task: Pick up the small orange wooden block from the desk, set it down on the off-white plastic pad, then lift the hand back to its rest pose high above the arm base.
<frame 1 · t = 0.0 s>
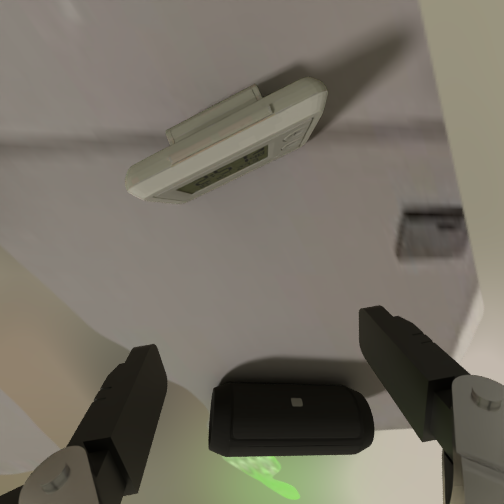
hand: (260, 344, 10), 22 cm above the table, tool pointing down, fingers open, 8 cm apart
portable speaker: (282, 388, 47), on the table
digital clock: (229, 149, 28), on the table
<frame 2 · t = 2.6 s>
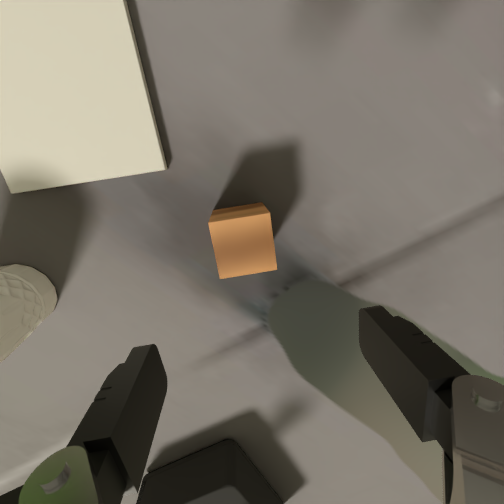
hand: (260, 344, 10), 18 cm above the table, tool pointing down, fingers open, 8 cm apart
orange block: (241, 229, 27), on the table
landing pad: (65, 97, 22), on the table
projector: (214, 488, 41), on the table
white cup: (25, 291, 28), on the table
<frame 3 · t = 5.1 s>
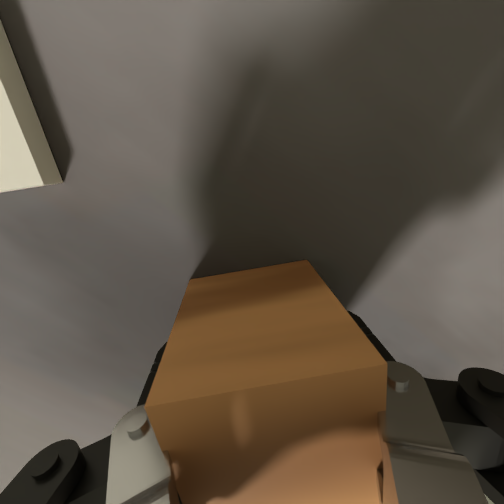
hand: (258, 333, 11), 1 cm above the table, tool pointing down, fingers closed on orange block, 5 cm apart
orange block: (257, 319, 12), on the table, touching gripper
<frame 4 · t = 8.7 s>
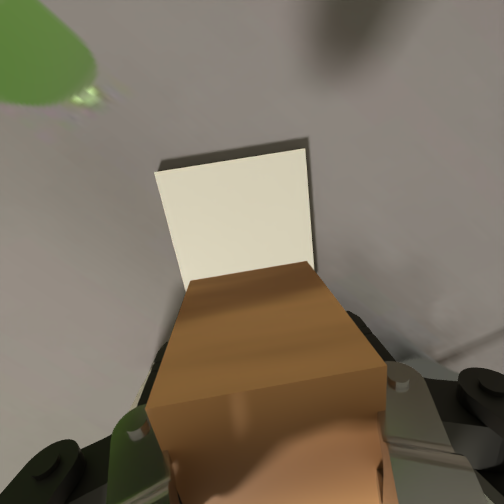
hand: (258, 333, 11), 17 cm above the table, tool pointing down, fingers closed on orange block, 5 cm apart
orange block: (257, 320, 12), point 16 cm above the table, touching gripper
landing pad: (242, 230, 27), on the table
when the fingers open (3 cm above the table, at t = 12.1 s): orange block stays where it is, resting on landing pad.
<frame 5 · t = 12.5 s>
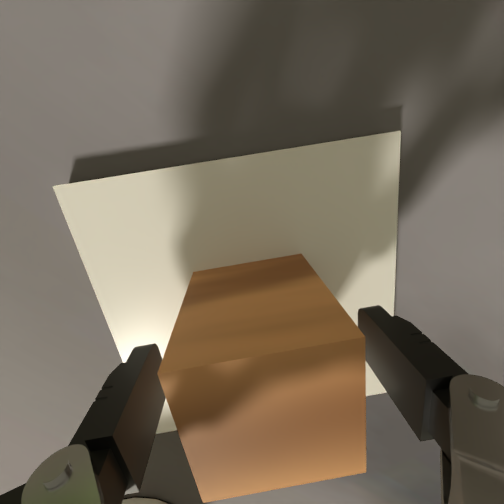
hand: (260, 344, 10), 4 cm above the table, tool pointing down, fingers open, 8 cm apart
orange block: (255, 309, 13), point 1 cm above the table, touching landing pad
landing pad: (253, 298, 14), on the table
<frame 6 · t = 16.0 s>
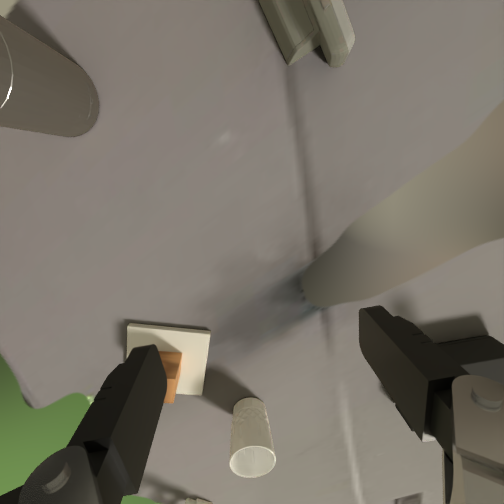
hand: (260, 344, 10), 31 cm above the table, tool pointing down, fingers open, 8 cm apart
orange block: (167, 362, 47), point 1 cm above the table, touching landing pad
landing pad: (168, 359, 48), on the table
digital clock: (300, 12, 32), on the table
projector: (438, 372, 54), on the table
white cup: (249, 408, 53), on the table
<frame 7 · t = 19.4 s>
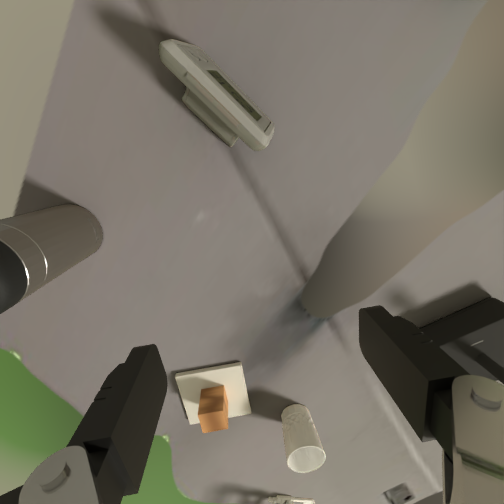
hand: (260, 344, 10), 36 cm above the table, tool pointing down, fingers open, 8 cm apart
orange block: (214, 395, 56), point 1 cm above the table, touching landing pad
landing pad: (215, 392, 57), on the table
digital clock: (226, 105, 39), on the table
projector: (455, 340, 58), on the table
white cup: (294, 413, 61), on the table
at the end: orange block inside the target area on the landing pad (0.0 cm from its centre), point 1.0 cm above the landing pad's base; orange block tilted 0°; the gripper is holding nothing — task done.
